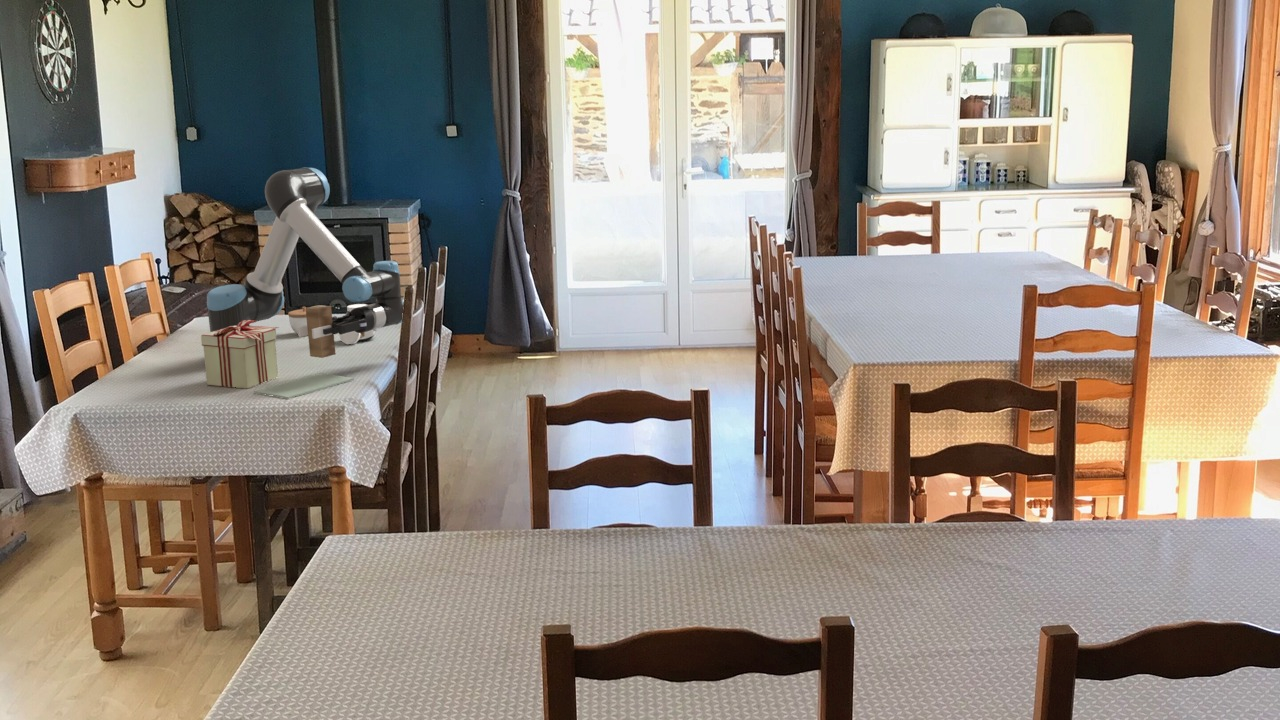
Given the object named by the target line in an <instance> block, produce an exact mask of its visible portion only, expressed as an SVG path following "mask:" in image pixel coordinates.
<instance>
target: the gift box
mask: <svg viewBox="0 0 1280 720" xmlns="http://www.w3.org/2000/svg"><path fill="white" fill-rule="evenodd" d="M253 323H256V321H254V320H243V321H241V322H240V323H239V324H237V326H229V327H227V328H224V329H220V330H217V331H213V332H210V331H209V332H206V333H202V334H201V335H200V339H201V340H200V341H201V342H200V343H201V346H203V355H204V366H205V367H204V368H205V377H206V378H205V379H206V385H207V386H208V385H209V386H215V387H223V388H224V387H225V388H235V387H236V388H237V389H246V388H247V389H250V387H251V388H254V387H255V385H256V386H259V385H261V383H262V384H264V383H263V382H265V381H267V382H269V381H268V380H270V381H272V380H271V379H273V380H275V379H277V378H276V377H278V378H279V374H278V373H279V371H278V361H277V360H278V359H277V346H276V345H277V344H276V340H277V330H276V329H279V328H280V327H278V326H276V327H273V326H264V325H263V326H262V325H261V326H259V325H258V326H257V325H256V326H255V325H250V324H253ZM274 378H275V379H274ZM265 383H266V382H265ZM258 384H259V385H258ZM253 386H254V387H253ZM236 388H235V389H236Z"/></svg>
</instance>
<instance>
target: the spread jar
mask: <svg viewBox="0 0 1280 720" xmlns="http://www.w3.org/2000/svg"><path fill="white" fill-rule="evenodd" d="M366 305H367V304H366V303H356V304H355V303H354V304H349V305H347V306H346V309H347V310H346V311H347V312H346V313H345V315H349V314H350V312H351V310H353V309H354V308H358V307H363V306H366ZM375 332H376V331H373V330H370V331H367V332H363V333H357V332H355V331H352V332H348V333H344V334H339V333H338V336H339V339H340V341H342V343H343V344H346V345H349V344H351V345H355V344H356V343H364V342H363V341H366V342H370V341H371V340H372V339H373V338H374V336H375Z"/></svg>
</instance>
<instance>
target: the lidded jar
mask: <svg viewBox="0 0 1280 720" xmlns="http://www.w3.org/2000/svg"><path fill="white" fill-rule="evenodd" d="M306 308H307V307H306V306H302V308H300V309H295V310H291V311H288V312H287V313H288V314H287V316H288V320H289V325H290V328H291V329H292V331H293V332H294V333H295V334H296V335H297V334H298V327H302V326H306V325H307V318H306Z"/></svg>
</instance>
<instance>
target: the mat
mask: <svg viewBox="0 0 1280 720" xmlns="http://www.w3.org/2000/svg"><path fill="white" fill-rule="evenodd" d="M351 380H353V381H354V380H355V379H354V378H353V377H349V376H341V375H336V374H335V375H334V374H329V373H322V372H319V373H315V374H312V375H307V376H305V377H301V378H298V379H294V380H293V379H292V380H290V381H287V382H283V383H279V384H275V385H271V386H269V387H265V388H261V389H257V390H254V394H256V393H259V394H258V395H262V394H266V395H265V396H268V395H273V396H278V397H277V398H279V397H283V398H282V399H285V398H291V399H293V398H292V397H294V398H296V397H295V396H298V397H300V396H299V395H301V396H304V395H303V394H305V395H307V393H308V394H311V392H312V393H315V392H318V391H321V389H322V390H324V388H325V389H328V388H327V387H329V388H331V387H330V386H332V387H335V386H334V385H336V386H338V385H337V384H339V385H342V384H341V383H343V384H345V383H344V382H346V383H348V382H347V381H349V382H352V381H351ZM317 390H318V391H317ZM314 391H315V392H314ZM273 396H272V397H273Z"/></svg>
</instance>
